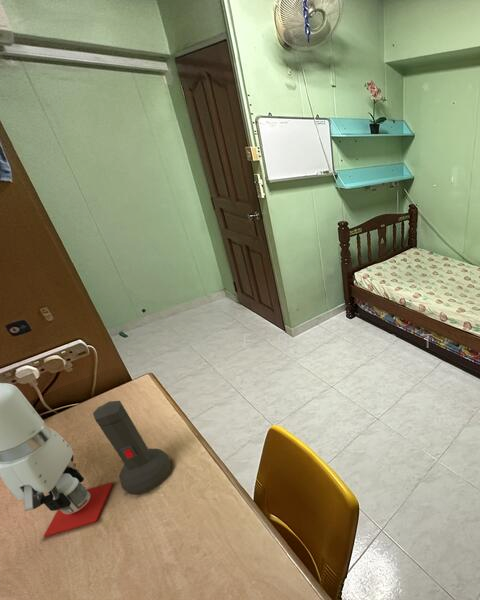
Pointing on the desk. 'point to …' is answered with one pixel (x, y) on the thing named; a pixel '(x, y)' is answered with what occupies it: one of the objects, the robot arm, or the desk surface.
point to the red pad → (81, 512)
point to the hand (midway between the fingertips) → (68, 494)
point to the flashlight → (132, 450)
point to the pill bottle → (72, 493)
